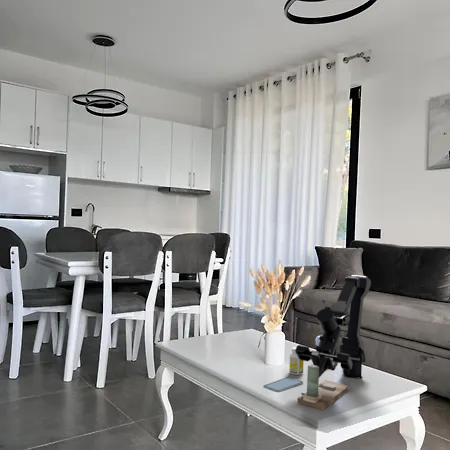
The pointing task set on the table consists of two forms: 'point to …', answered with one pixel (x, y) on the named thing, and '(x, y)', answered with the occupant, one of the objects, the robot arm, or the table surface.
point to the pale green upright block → (312, 385)
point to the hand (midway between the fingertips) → (315, 379)
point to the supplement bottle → (295, 363)
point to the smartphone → (283, 384)
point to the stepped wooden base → (326, 394)
